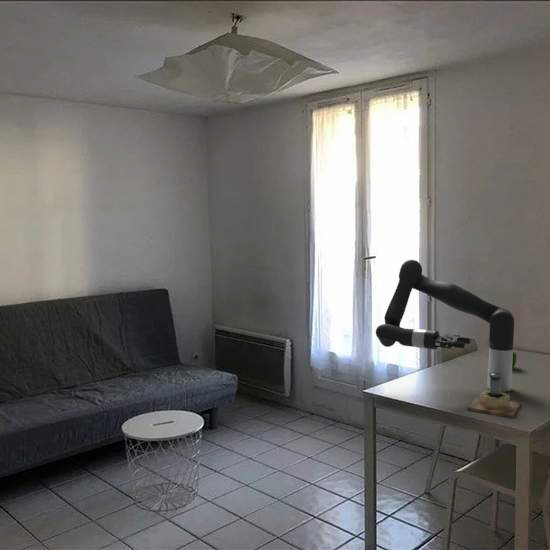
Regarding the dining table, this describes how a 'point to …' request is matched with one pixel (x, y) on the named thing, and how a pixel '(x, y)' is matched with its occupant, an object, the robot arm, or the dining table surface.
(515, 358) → the bell pepper
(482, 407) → the nut base
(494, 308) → the robot arm
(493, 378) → the steel pin
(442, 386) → the dining table surface
